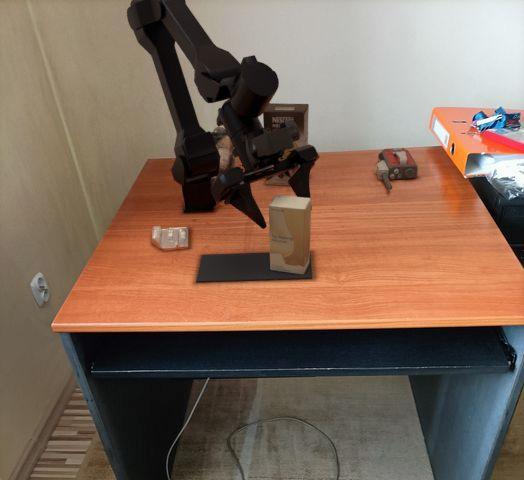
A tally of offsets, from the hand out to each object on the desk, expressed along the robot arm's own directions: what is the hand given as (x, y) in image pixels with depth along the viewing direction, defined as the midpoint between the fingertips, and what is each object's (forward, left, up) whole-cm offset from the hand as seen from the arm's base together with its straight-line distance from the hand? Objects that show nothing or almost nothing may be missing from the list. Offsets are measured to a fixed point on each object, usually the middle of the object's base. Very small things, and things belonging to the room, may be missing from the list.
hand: (287, 219), depth 85 cm
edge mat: (-6, 0, -9) cm, 11 cm away
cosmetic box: (0, 0, -9) cm, 9 cm away
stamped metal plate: (-23, +11, -9) cm, 27 cm away
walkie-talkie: (+25, +38, -9) cm, 47 cm away
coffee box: (0, +38, -9) cm, 40 cm away
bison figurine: (-16, +42, -9) cm, 46 cm away
